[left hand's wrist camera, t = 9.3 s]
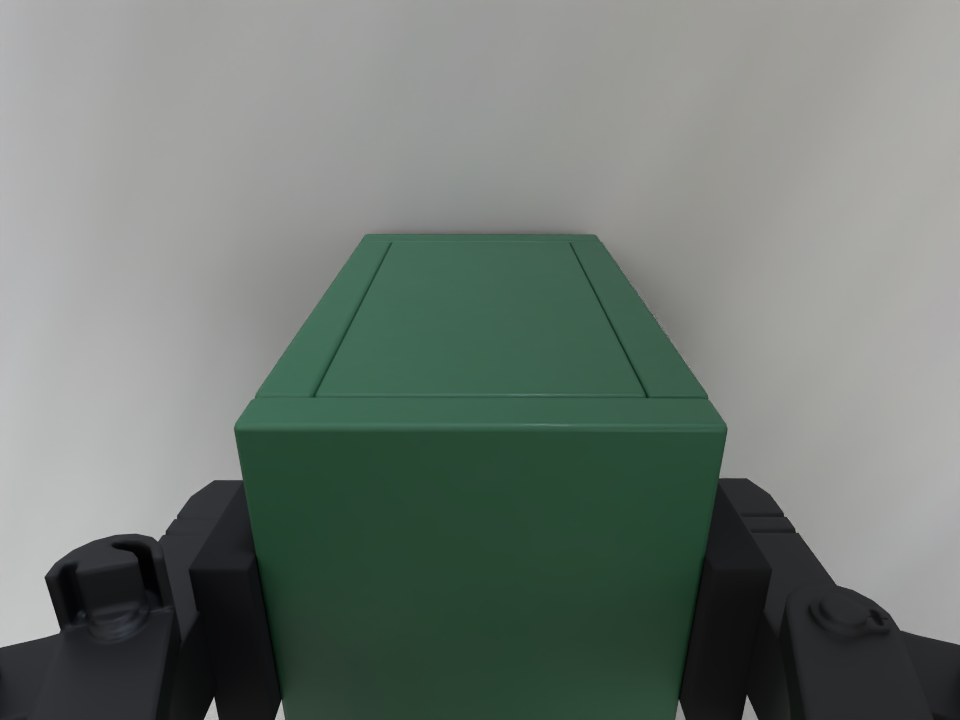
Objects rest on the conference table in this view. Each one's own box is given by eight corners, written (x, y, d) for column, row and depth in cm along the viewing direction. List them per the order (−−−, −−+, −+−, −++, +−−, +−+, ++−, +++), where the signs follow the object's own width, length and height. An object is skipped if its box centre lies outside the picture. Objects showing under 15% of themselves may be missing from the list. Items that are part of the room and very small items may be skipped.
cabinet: (559, 734, 24) (603, 1120, 15) (400, 734, 24) (354, 1119, 15) (597, 233, 16) (731, 425, 8) (364, 233, 16) (230, 425, 8)
